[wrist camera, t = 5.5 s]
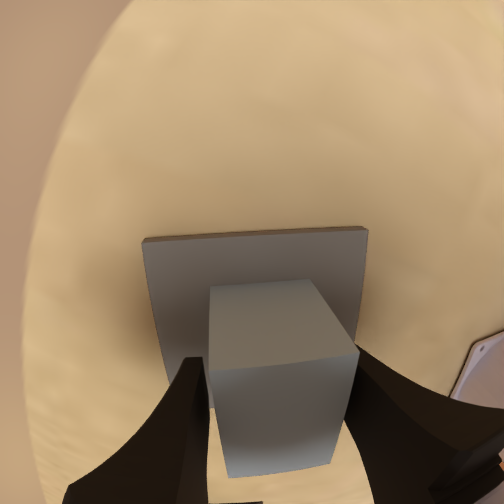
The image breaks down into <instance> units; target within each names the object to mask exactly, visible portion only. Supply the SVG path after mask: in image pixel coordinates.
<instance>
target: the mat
mask: <svg viewBox="0 0 504 504" xmlns="http://www.w3.org/2000/svg"><path fill="white" fill-rule="evenodd" d="M367 241H368V230H367V229H366V228H364V227H362V226H361V227H335V228H312V229H291V230H272V231H253V232H236V233H219V234H203V235H188V236H173V237H159V238H145V239H144V240H143V241H142V243H141V244H142V251H143V258H144V265H145V271H146V277H147V283H148V289H149V294H150V300H151V305H152V310H153V315H154V320H155V325H156V330H157V334H158V339H159V343H160V348H161V352H162V356H163V360H164V364H165V368H166V372H167V376H168V380H169V384H170V385H171V383H172V381H173V379H174V378H175V376H176V374H177V372H178V370H179V368H180V366H181V363H182V361H183V359H184V358H185V357H203V364H204V370H205V376H206V382H207V388H208V394H209V408H215V407H214V401H213V395H212V389H211V383H210V377H209V310H210V286H223V285H237V284H251V283H264V282H277V281H289V280H301V279H310V280H311V281H312V283H313V284H314V286H315V287H316V288H317V290H318V291H319V293H320V294H321V296H322V297H323V299H324V300H325V301H326V303H327V304H328V306H329V307H330V309H331V310H332V312H333V313H334V315H335V316H336V317H337V319H338V320H339V322H340V323H341V325H342V326H343V328H344V329H345V331H346V332H347V334H348V335H349V337H350V338H351V340H352V341H353V343H354V340H355V334H356V328H357V322H358V316H359V309H360V302H361V295H362V287H363V279H364V271H365V262H366V252H367Z"/></svg>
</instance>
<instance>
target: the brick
mask: <svg viewBox="0 0 504 504" xmlns="http://www.w3.org/2000/svg"><path fill="white" fill-rule="evenodd" d="M359 354H360V352H359V350H358V349H357V347H356V346H355V344H354V343H353V341H352V340H351V338H350V337H349V335H348V334H347V332H346V331H345V329H344V328H343V326H342V325H341V323H340V322H339V320H338V319H337V317H336V316H335V315H334V313H333V312H332V310H331V309H330V307H329V306H328V304H327V303H326V301H325V300H324V299H323V297H322V296H321V294H320V293H319V291H318V290H317V288H316V287H315V286H314V284H313V283H312V281H311V280H310V279H301V280H289V281H277V282H264V283H251V284H237V285H223V286H210V310H209V377H210V383H211V389H212V395H213V401H214V407H215V413H216V418H217V424H218V429H219V434H220V440H221V445H222V450H223V455H224V460H225V464H226V469H227V474H228V478H238V477H250V476H260V475H268V474H276V473H283V472H289V471H295V470H301V469H306V468H311V467H316V466H321V465H326V464H330V462H331V459H332V456H333V453H334V450H335V446H336V443H337V440H338V437H339V433H340V430H341V427H342V423H343V420H344V416H345V412H346V409H347V405H348V401H349V397H350V393H351V389H352V385H353V381H354V377H355V372H356V368H357V363H358V358H359Z"/></svg>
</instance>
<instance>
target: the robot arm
mask: <svg viewBox="0 0 504 504" xmlns="http://www.w3.org/2000/svg"><path fill="white" fill-rule="evenodd" d="M354 344H355V343H354ZM355 346H356V347H357V349H358V350H359V352H360V354H359V358H358V363H357V368H356V372H355V377H354V381H353V385H352V389H351V393H350V397H349V401H348V405H347V409H346V412H345V416H344V421H345V423H346V425H347V427H348V429H349V431H350V433H351V435H352V437H353V439H354V441H355V443H356V445H357V448H358V450H359V453H360V455H361V458H362V461H363V464H364V467H365V470H366V474H367V477H368V480H369V484H370V487H371V491H372V495H373V499H374V503H375V504H504V471H503V470H502V468H501V467H500V465H499V464H500V463H501V462H502V461H503V462H504V331H503V332H501V333H499V334H496V335H494V336H492V337H489V338H487V339H484V340H482V341H479V342H477V343H475V344H474V345H473V347H472V349H471V351H470V354H469V356H468V359H467V361H466V364H465V366H464V368H463V371H462V373H461V375H460V377H459V379H458V382H457V384H456V386H455V388H454V390H453V392H452V394H451V396H450V397H447V396H444V395H441V394H439V393H436V392H434V391H431V390H429V389H427V388H425V387H423V386H420V385H418V384H416V383H415V382H413V381H411V380H409V379H407V378H406V377H404V376H402V375H400V374H399V373H397V372H396V371H394V370H392V369H391V368H389V367H388V366H386V365H385V364H383V363H382V362H380V361H379V360H377V359H376V358H375V357H373V356H372V355H370V354H369V353H367V352H366V351H365V350H363V349H362V348H360V347H359V346H358V345H356V344H355ZM209 423H210V411H209V394H208V388H207V382H206V376H205V370H204V364H203V357H185V358H184V359H183V361H182V363H181V366H180V368H179V370H178V372H177V374H176V376H175V378H174V379H173V381H172V383H171V385H170V386H169V388H168V390H167V391H166V393H165V395H164V396H163V398H162V399H161V401H160V402H159V404H158V405H157V407H156V408H155V409H154V411H153V412H152V414H151V415H150V416H149V418H148V419H147V420H146V421H145V423H144V424H143V425H142V426H141V427H140V429H139V430H138V431H137V432H136V433H135V434H134V435H133V436H132V437H131V438H130V439H129V440H128V441H127V442H126V443H125V444H124V445H123V446H122V447H121V448H120V449H119V450H118V451H117V452H116V453H115V454H113V455H112V456H111V457H110V458H108V459H107V460H106V461H105V462H103V463H102V464H101V465H100V466H98V467H97V468H96V469H94V470H93V471H91V472H90V473H88V474H87V475H85V476H83V477H82V478H80V479H79V480H77V481H75V482H74V483H72V484H70V485H69V486H68V488H67V491H66V493H65V495H64V498H63V502H62V504H208V492H207V453H208V438H209Z"/></svg>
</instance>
